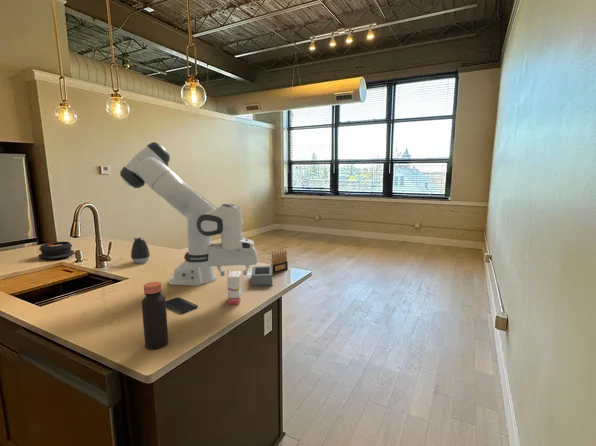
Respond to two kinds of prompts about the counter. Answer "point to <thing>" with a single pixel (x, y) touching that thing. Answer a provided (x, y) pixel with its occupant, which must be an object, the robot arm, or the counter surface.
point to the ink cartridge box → (234, 286)
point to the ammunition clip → (279, 262)
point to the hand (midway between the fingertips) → (233, 275)
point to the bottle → (154, 316)
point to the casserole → (56, 250)
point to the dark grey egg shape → (139, 251)
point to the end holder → (261, 276)
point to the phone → (180, 305)
